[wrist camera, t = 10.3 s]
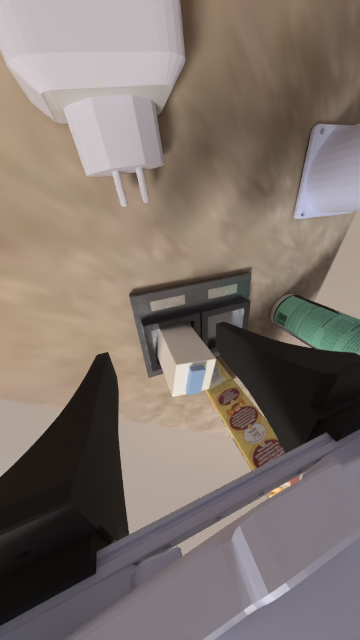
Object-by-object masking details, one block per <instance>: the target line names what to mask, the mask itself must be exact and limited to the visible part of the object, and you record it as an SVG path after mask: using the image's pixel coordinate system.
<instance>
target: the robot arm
mask: <svg viewBox="0 0 360 640" xmlns="http://www.w3.org/2000/svg"><path fill="white" fill-rule="evenodd" d="M320 130H321V133H320ZM352 211H360V123H359V124H356V125H354V126H352V125H334V124H317V125H315V126H314V127H313V129H312V131H311V136H310V141H309V145H308V150H307V155H306V159H305V164H304V169H303V174H302V178H301V183H300V188H299V193H298V197H297V202H296V207H295V212H294V218H295V219H303V218H311V217H320V216H329V215H337V214H346V213H350V212H352ZM301 214H302V215H301ZM215 347H216V349H217V350H218V352H219V354H220V355H221V357H222V358H223V360H224V361H225V362H226V363H227V365H228V366H229V367H230V368H231V370H232V371H233V372H234V373H235V374H236V376H237V377H238V378H239V379H240V380H241V382H242V383H243V384H244V385H245V387H246V388H247V389H248V391H249V392H250V394H251V395H252V397H253V398H254V400H255V401H256V403H257V405H258V406H259V408H260V409H261V411H262V413H263V414H264V416H265V417H266V419H267V421H268V423H269V424H270V426H271V428H272V429H273V431H274V433H275V435H276V437H277V438H278V440H279V442H280V444H281V446H282V447H283V449H284V451H285V453H286V454H284V455H282V456H280V457H278V458H276V459H274V460H272V461H270V462H268V463H266V464H265V465H263V466H261V467H259V468H257V469H255V470H253V471H251V472H249V473H247V474H245V475H243V476H241V477H240V478H238V479H236V480H234V481H232V482H230V483H228V484H226V485H224V486H222V487H220V488H218V489H216V490H214V491H213V492H211V493H209V494H207V495H205V496H203V497H201V498H199V499H197V500H195V501H193V502H192V503H189V504H188V505H186V506H184V507H182V508H180V509H178V510H176V511H174V512H172V513H170V514H169V515H166V516H165V517H163V518H161V519H159V520H157V521H155V522H153V523H151V524H149V525H147V526H145V527H143V528H141V529H139V530H137V531H136V532H134V533H132V534H130V535H129V531H128V522H127V514H126V506H125V499H124V489H123V480H122V470H121V460H120V450H119V438H118V404H119V391H118V382H117V376H116V373H115V370H114V367H113V365H112V362H111V359H110V356H109V354H108V352H106V353H103V354H99V355H97V356H96V357H95V359H94V361H93V363H92V365H91V367H90V369H89V371H88V373H87V374H86V376H85V378H84V379H83V381H82V383H81V384H80V386H79V388H78V389H77V391H76V392H75V394H74V395H73V397H72V398H71V400H70V401H69V403H68V404H67V405H66V407H65V408H64V409H63V411H62V412H61V413H60V415H59V416H58V417H57V418H56V420H55V421H54V422H53V423H52V424H51V425H50V427H49V428H48V429H47V430H46V431H45V432H44V434H43V435H42V436H41V437H40V438H39V439H38V440H37V441H36V442H35V443H34V444H33V446H31V448H30V449H29V450H28V451H27V452H26V453H25V454H24V455H23V456H22V457H21V458H20V459H19V460H18V461H17V462H16V463H15V464H14V465H13V466H12V467H11V468H10V469H9V470H8V471H6V472H5V473H4V474H3V475H2V476H1V477H0V640H360V355H358V354H356V353H352V352H340V351H329V350H321V349H314V348H307V347H302V346H297V345H292V344H288V343H284V342H280V341H276V340H273V339H270V338H267V337H264V336H261V335H258V334H255V333H252V332H250V331H247V330H245V329H242V328H240V327H237V326H235V325H232V324H229V323H227V322H221V323H217V324H216V345H215ZM304 472H305V473H304ZM302 473H304V474H303V478H302V479H301V480H300V481H298V482H296V483H294V484H293V485H291V486H289V487H287V488H286V489H284V490H282V491H281V492H279V493H277V494H275V495H274V496H272V497H270V498H268V499H267V500H265V501H264V502H262V503H260V504H259V505H257V506H256V507H254V508H253V509H251V510H250V511H249V512H247V513H246V514H244V515H243V516H241V517H240V518H238V519H237V520H235V521H233V522H232V523H230V524H229V525H227V526H226V527H225V528H223V529H222V530H220V531H219V532H217V533H216V534H214V535H213V536H211V537H210V538H208V539H207V540H206V541H204V542H203V543H201V544H200V545H199V546H197V547H195V548H194V549H192V550H191V551H189V552H188V553H187V554H185V555H184V556H182V553H181V549H180V548H179V547H176V548H173V549H171V548H172V547H174V546H176V545H177V544H179V543H181V542H183V541H185V540H186V539H188V538H190V537H192V536H193V535H195V534H197V533H199V532H200V531H202V530H204V529H206V528H207V527H209V526H211V525H213V524H214V523H216V522H218V521H220V520H221V519H223V518H225V517H227V516H229V515H230V514H232V513H234V512H235V511H237V510H239V509H241V508H242V507H244V506H246V505H248V504H250V503H251V502H253V501H255V500H257V499H258V498H260V497H262V496H263V495H265V494H267V493H269V492H271V491H272V490H274V489H276V488H278V487H279V486H281V485H283V484H285V483H286V482H288V481H290V480H292V479H293V478H295V477H297V476H299V475H300V474H302ZM169 549H170V550H169ZM167 550H168V551H167Z"/></svg>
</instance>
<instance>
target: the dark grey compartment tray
mask: <svg viewBox="0 0 360 640" xmlns="http://www.w3.org/2000/svg"><path fill="white" fill-rule="evenodd" d="M250 280H251V273H248V272H246V273H241V274H235V275H230V276H225V277H220V278H215V279H209V280H204V281H199V282H194V283H189V284H183V285H178V286H173V287H168V288H162V289H157V290H152V291H147V292H142V293H136V294H131V295H129V297H130V301H131V305H132V309H133V314H134V318H135V322H136V326H137V330H138V335H139V339H140V343H141V347H142V352H143V356H144V360H145V364H146V369H147V373H148V377H149V378H150V377H153V376H156V375H160V374H163V370H162V367H161V364H160V361H159V359H158V356H157V353H156V352H157V335H158V329H162V328H166V327H170V326H174V325H178V324H190V326H191V327H192V328H193V330H194V331H195V332H196V333H197V335H198V336H199V337H200V339H201V340H202V341H203V342H204V344H205V345H206V346H207V347H208V349H209V350H210V351H211V353H212V354H213V355H214V356H215V357H217V356H220V354H219V352H218V350H217V349H216V347H215V345H216V324H217V323H221V322H227V323H229V324H232V325H235V326H237V327H240V328H242V329H245V330H247V324H248V316H249V309H250V300H248V296H249V288H250Z"/></svg>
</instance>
